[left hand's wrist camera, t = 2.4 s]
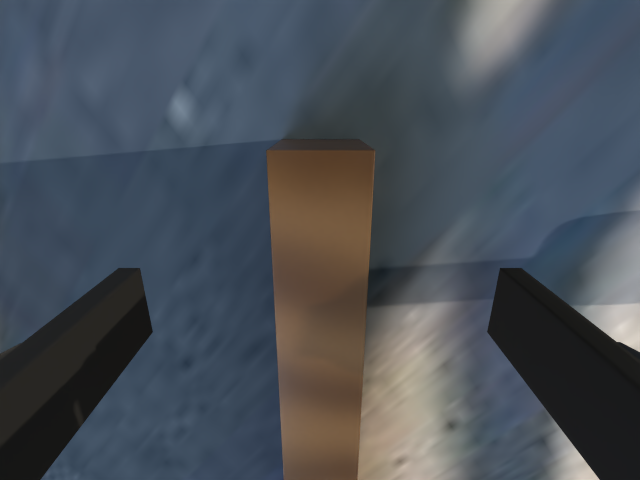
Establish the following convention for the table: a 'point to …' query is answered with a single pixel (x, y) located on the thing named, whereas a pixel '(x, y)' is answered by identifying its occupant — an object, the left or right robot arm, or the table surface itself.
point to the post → (320, 299)
